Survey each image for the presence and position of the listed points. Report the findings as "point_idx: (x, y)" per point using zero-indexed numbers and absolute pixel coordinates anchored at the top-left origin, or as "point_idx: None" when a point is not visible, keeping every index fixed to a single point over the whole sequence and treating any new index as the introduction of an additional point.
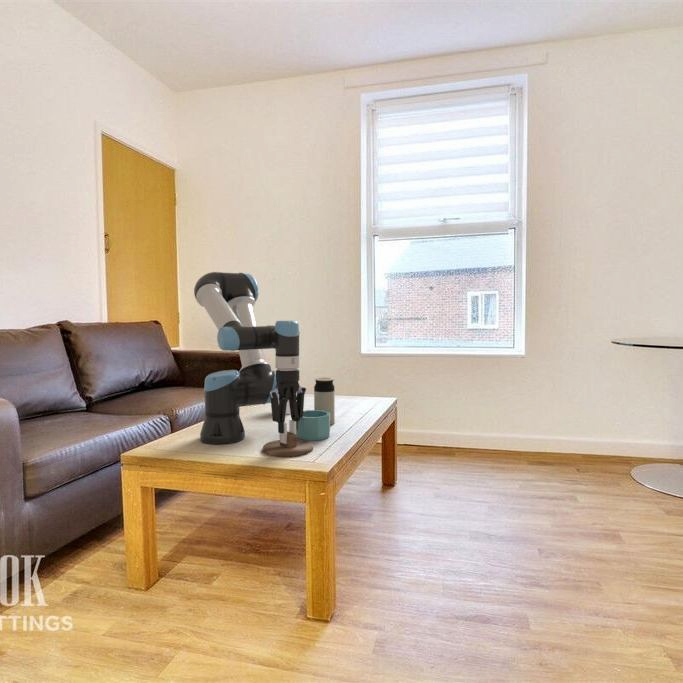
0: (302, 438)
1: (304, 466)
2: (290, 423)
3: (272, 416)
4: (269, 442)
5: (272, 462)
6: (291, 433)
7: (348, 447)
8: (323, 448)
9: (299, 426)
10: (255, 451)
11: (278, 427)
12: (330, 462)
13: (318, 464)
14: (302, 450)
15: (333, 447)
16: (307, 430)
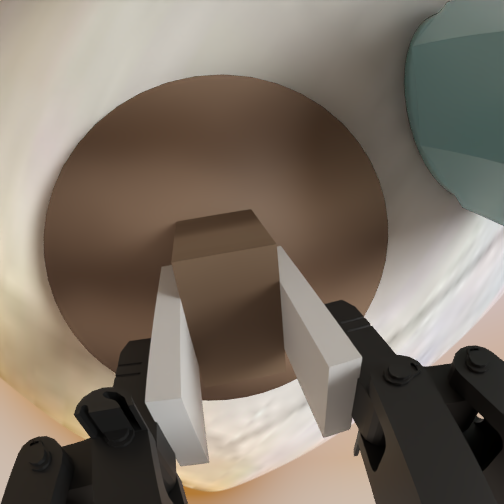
0: (415, 124)
1: (176, 462)
2: (313, 361)
3: (9, 497)
4: (139, 101)
5: (68, 392)
6: (267, 332)
7: (442, 354)
8: (382, 332)
9: (469, 96)
10: (18, 183)
11: (116, 387)
12: (276, 460)
13: (230, 464)
14: (249, 384)
15: (416, 335)
16: (467, 172)
